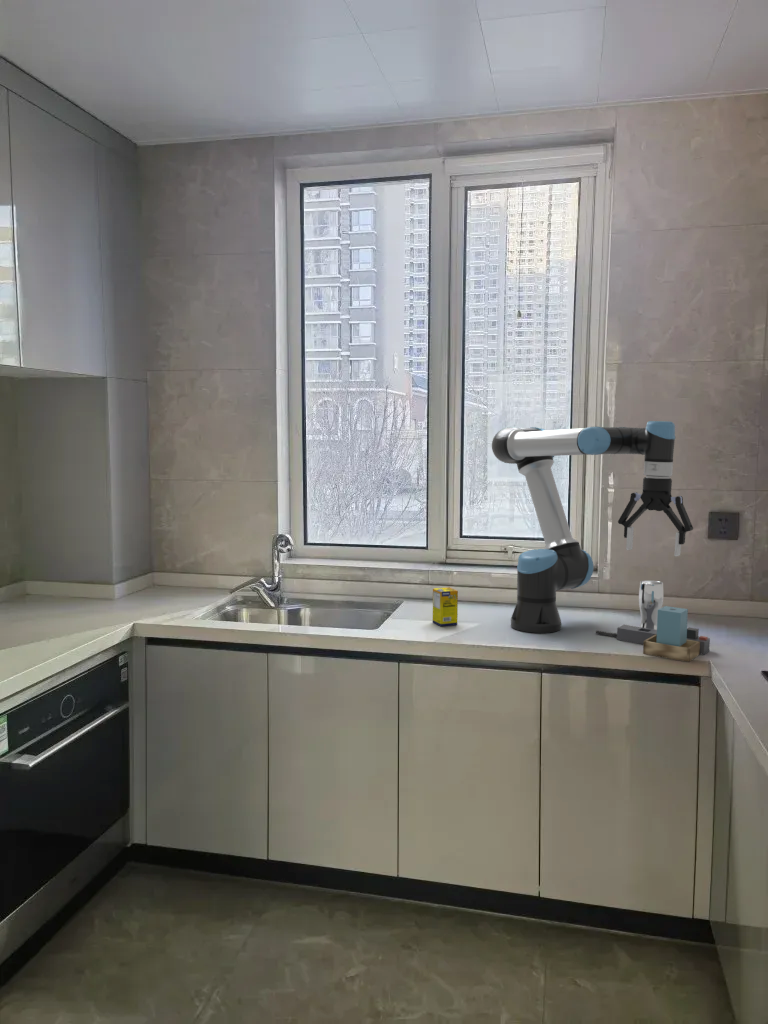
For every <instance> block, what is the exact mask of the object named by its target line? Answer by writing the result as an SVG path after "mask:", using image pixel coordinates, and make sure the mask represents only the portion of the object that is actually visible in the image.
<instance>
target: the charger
mask: <svg viewBox="0 0 768 1024" xmlns="http://www.w3.org/2000/svg"><path fill="white" fill-rule="evenodd" d="M688 612H689V609H688V608H683V607H676V606H675V607H673V606H666V605H664V606H662V608H660V609H658V615H657V641H656V643H661V644H667V645H673V646H679V647H680V646H681V645H683V644H684V643H686V641H687V628H688V616H689V615H688V614H689V613H688Z"/></svg>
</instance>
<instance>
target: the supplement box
mask: <svg viewBox="0 0 768 1024" xmlns="http://www.w3.org/2000/svg"><path fill="white" fill-rule="evenodd" d="M458 591H459V590H457V589H454V588H452V587H434V588H432V623H433V624H435V625H437V626H439V627H450V626H458V615H459V613H458V610H459V609H458V608H459V607H458V605H459V604H458V599H459V594H458V593H459V592H458Z"/></svg>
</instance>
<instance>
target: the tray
mask: <svg viewBox="0 0 768 1024" xmlns="http://www.w3.org/2000/svg"><path fill="white" fill-rule="evenodd" d="M656 641H657V635H653V636H652V637H650V638H648V639H646V640H645V641H644V643H643V644H642V645H643V647H642V648H643V650H642V655H647V656H654V657H658V658H664V659H670V660H674V661H675V660H677V661H681V662H687V663H690V662H691V661H692V660H694V659H695V658H698V656H700V655H701V654H700V642H699V641H692V640H687V641H686V643H684V644H683V645H681V646H680V647H679V646H673V645H667V644H661V643H656Z"/></svg>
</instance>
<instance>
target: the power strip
mask: <svg viewBox="0 0 768 1024" xmlns="http://www.w3.org/2000/svg"><path fill="white" fill-rule="evenodd" d="M699 631H700V629H699V628H695V627H690V626H688V627H687V640H692V641H699V642H700V654H699V655H704V656H705V654H707V653H709V651H710V646H711V645H710V644H711V643H710V641H711V639H710V637H708V636H705V635H704V636H703V635H700V636H699ZM616 632H617V633H613V632H609V631H602V630H595V634H596V635H602V636H606V637H607V636H608V637H613V638H616V641H622V642H628V643H632V644H633V643H634V644H639V645H643V643H644V641H645V640H646V639H648V638H650V637H652V636H653V635H657V630H655V629H648V628H642V627H640V626H634V625H629V624H623V625H621V626H618V627H617V630H616Z"/></svg>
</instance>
